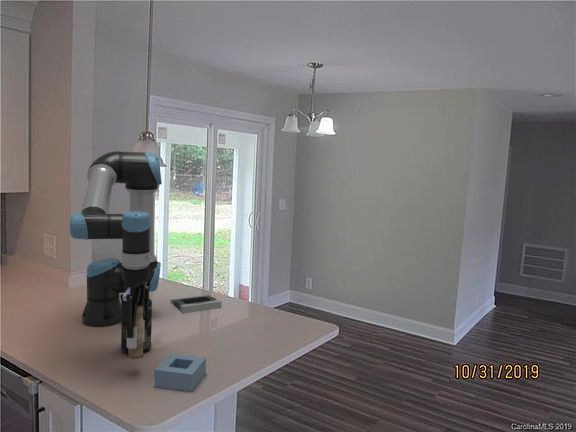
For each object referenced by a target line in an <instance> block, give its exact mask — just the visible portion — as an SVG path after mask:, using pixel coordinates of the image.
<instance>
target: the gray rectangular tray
mask: <svg viewBox="0 0 576 432" xmlns="http://www.w3.org/2000/svg"><path fill="white" fill-rule="evenodd" d="M169 303H170V304H171V305H175V306H176V307H177V308H178V309H179V310H180V312H181V314H188V313H189V314H190V313H196V312H202V311H211V310H216V309H222V303H223V301H222V300H218V299H217V298H215V297H213V296H211V295H210V294H203V295H202V294H201V295H195V296H188V297H187V296H186V297H180V298H171V299H170V302H169Z"/></svg>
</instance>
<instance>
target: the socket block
mask: <svg viewBox="0 0 576 432" xmlns="http://www.w3.org/2000/svg"><path fill="white" fill-rule="evenodd" d="M206 365H207V357H203V356H194V355H186V354H179V353H178V354H176V353H170V354H169V355H168V356H166V358H165V359H163V361H162V362H161V363H160V364H159V365H157V367H156V368H155V369H154V378H153V379H154V384H153V385H154V388H161V389H169V390H176V391H184V392H191V393H192V392H193V391H194V390H195V389H196V387H197V386H198V384H199V383H200V382H201V381H202V379H203V378H204V376H205V375H206V373H207V372H206V371H207V369H206V367H207V366H206Z"/></svg>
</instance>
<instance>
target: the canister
mask: <svg viewBox="0 0 576 432" xmlns="http://www.w3.org/2000/svg"><path fill="white" fill-rule="evenodd" d="M132 300H134V299H132ZM152 310H153V301H152V299H151V298H149V313H148V315H146V316H148V319H144V320H145V325H144V342H143V353H144V352H147V351H148V350H150V348H151V347H152V330H153V329H152V322H153V321H152V320H153V319H152V314H153V311H152ZM120 326H121V329H120V330H121V333H120V347H121V351H123V352H125V353H127V354H128V348H127V327H122V308H121V322H120Z"/></svg>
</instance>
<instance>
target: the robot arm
mask: <svg viewBox="0 0 576 432" xmlns="http://www.w3.org/2000/svg"><path fill="white" fill-rule="evenodd" d="M86 177H87V180H88V184H87V187H86V191H85V195H84V200H83V203H82V207H81V212H78V213H72V215H71V216H70V219H69V233H70V236H71V238H73V239H75V240H76V239H77V240H85V241H86V240H122V242H121V243H122V246H121V247H122V250H121V260H120V259H119V258H116V257H115V258H114V257H110V258H109V257H108V258H102V259H98V260H95V261H94V260H93V261H92V262H90V263H89V264H88V265H87V267H86V274H85V276H86V302H85V306H84V309H83V312H82V314H81V323H82V324H83V325H86V326H90V327H108V326H112V325H116V324H119V323H121V308H122V327H127V348H135V349H136V348H137V326H135V322H136V312H137V305H143V342H144V325H145V320H144V319H148V316H146V315H148V313H149V299H150V293H151V292H156V290H157V289H158V285H159V281H160V275H161V267H162V264H161V263H162V262H160V261H158V257H157V255H155V254H154V206H155V205H154V204H155V203H154V199H155V197H154V194H155V192H157V191H158V190H159V188H158V187H159V186H160V185H162V183H163V182H162V175H161V166H160V158H159V155H158V154H156V153H152V152H141V151H138V152H137V151H136V152H135V151H117V150H115V151H109V152H107V153H105V154H102V155H100V156H99V157H97V158H96V159H95V160H94V161H93V162H92V163H91V164H90V166H89V168H88V170H87V174H86ZM115 184H124V186H125V190H126V191H127V192H128V193H129V211H125V212H124V213H109V208H110V203H111V196H112V190H113V186H114V185H115ZM132 299H134V300H132Z"/></svg>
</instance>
